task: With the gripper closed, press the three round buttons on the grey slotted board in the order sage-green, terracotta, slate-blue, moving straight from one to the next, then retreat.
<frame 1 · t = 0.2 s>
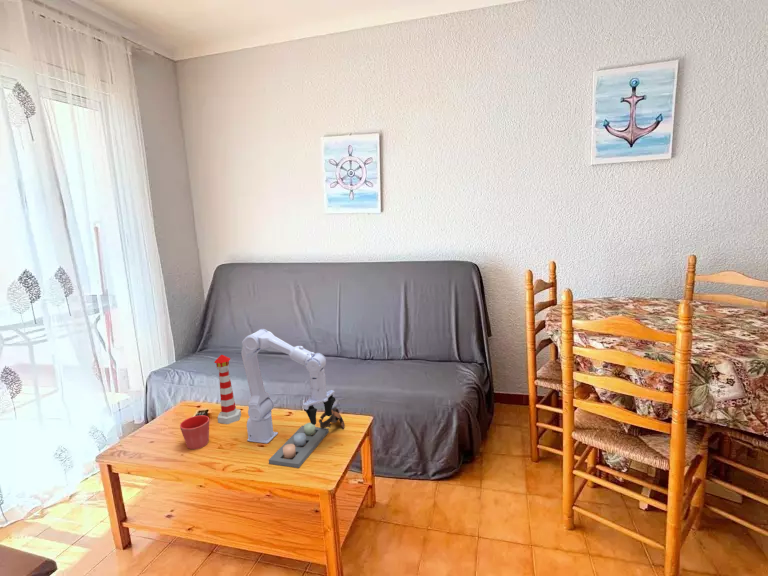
hand: (320, 419, 159), 10 cm above the table, fingers open, 7 cm apart
slate button: (300, 439, 158), point 3 cm above the table, slide at 0.0 cm
flower pot: (197, 444, 165), on the table
sage button: (309, 429, 166), point 3 cm above the table, slide at 0.0 cm
terracotta button: (289, 451, 151), point 3 cm above the table, slide at 0.0 cm
grey slotted board: (300, 446, 159), on the table
decorative lighthouse: (229, 419, 185), on the table
brown curved piece: (333, 426, 173), on the table, touching grey slotted board
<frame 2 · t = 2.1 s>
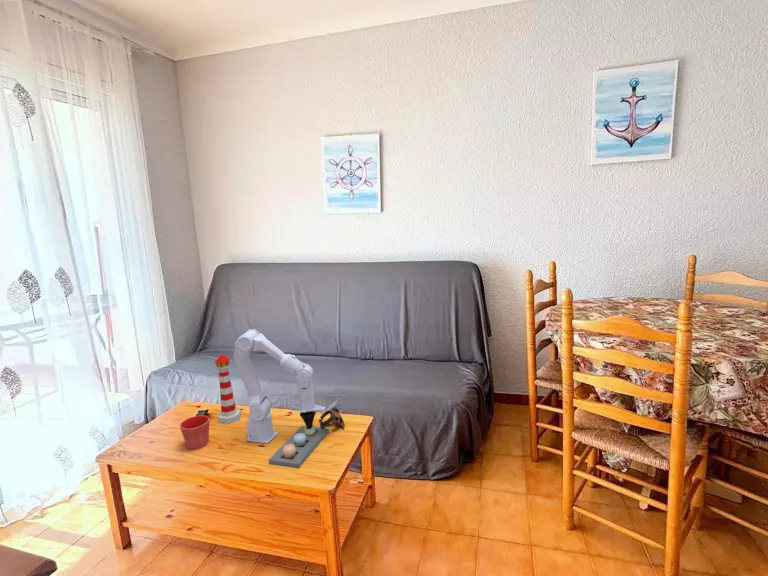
hand: (309, 427, 165), 4 cm above the table, fingers closed, pressing on sage button
sage button: (310, 431, 166), point 2 cm above the table, slide at 1.0 cm, touching gripper
everything else where it was.
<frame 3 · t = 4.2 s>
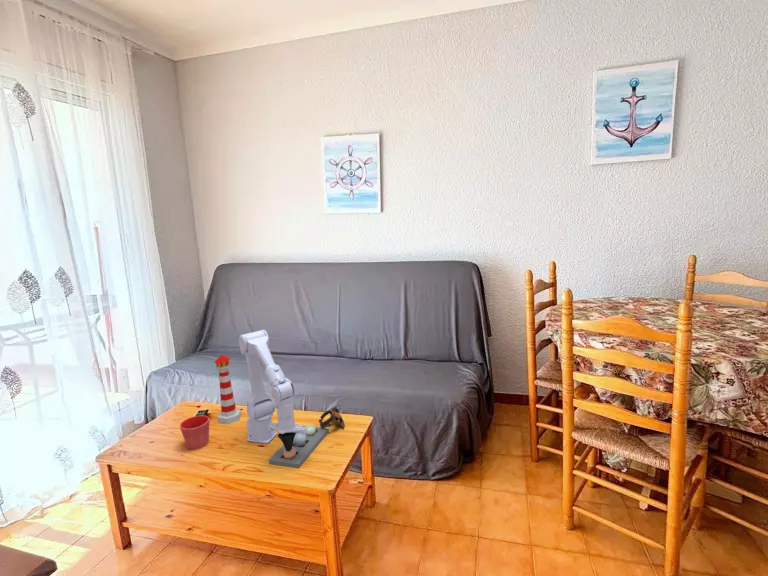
hand: (289, 449, 150), 4 cm above the table, fingers closed, pressing on terracotta button
sage button: (310, 431, 166), point 2 cm above the table, slide at 1.0 cm
terracotta button: (289, 453, 151), point 2 cm above the table, slide at 1.0 cm, touching gripper
everything else where it was.
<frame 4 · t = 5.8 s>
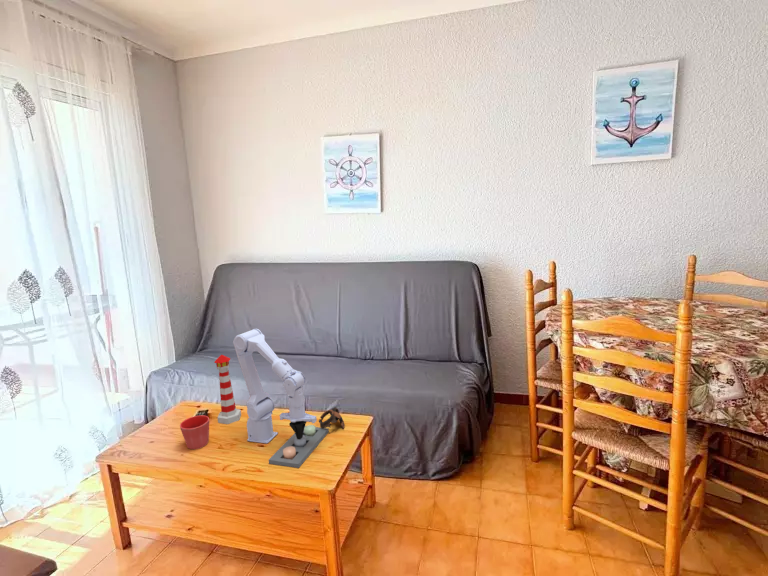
hand: (300, 438, 158), 4 cm above the table, fingers closed, pressing on slate button
slate button: (300, 441, 158), point 2 cm above the table, slide at 0.9 cm, touching gripper
terracotta button: (289, 453, 151), point 2 cm above the table, slide at 1.0 cm
everything else where it was.
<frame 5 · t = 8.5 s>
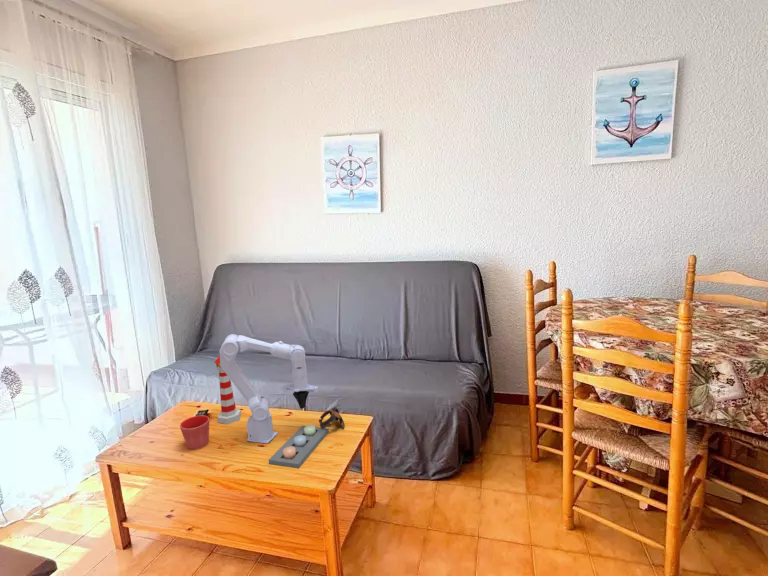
hand: (302, 407, 168), 10 cm above the table, fingers closed
slate button: (300, 442, 158), point 2 cm above the table, slide at 1.0 cm
everything else where it was.
at the end: sage button slide at 1.0 cm; terracotta button slide at 1.0 cm; slate button slide at 1.0 cm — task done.
